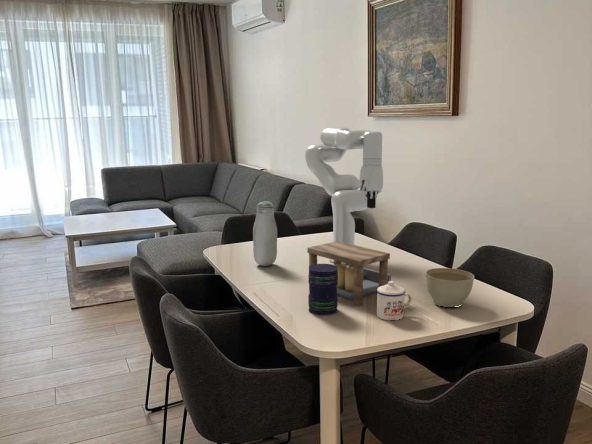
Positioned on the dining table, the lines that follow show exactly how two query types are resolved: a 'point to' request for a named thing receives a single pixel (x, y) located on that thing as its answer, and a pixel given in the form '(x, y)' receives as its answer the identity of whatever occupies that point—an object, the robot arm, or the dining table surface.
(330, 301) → the storage jar
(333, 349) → the dining table surface
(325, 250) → the low table
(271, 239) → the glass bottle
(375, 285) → the tray
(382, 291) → the teacup with lid
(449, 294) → the planter bowl
